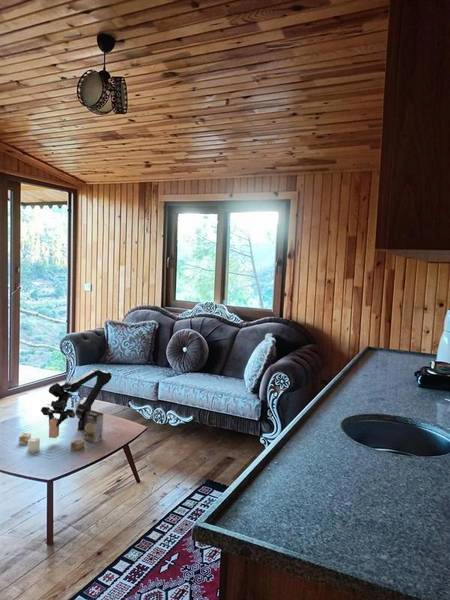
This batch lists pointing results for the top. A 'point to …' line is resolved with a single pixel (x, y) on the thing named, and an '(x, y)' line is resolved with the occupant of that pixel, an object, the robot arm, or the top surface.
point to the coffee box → (93, 426)
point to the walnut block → (77, 445)
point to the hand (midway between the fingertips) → (53, 426)
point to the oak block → (24, 438)
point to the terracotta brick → (53, 428)
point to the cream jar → (33, 445)
